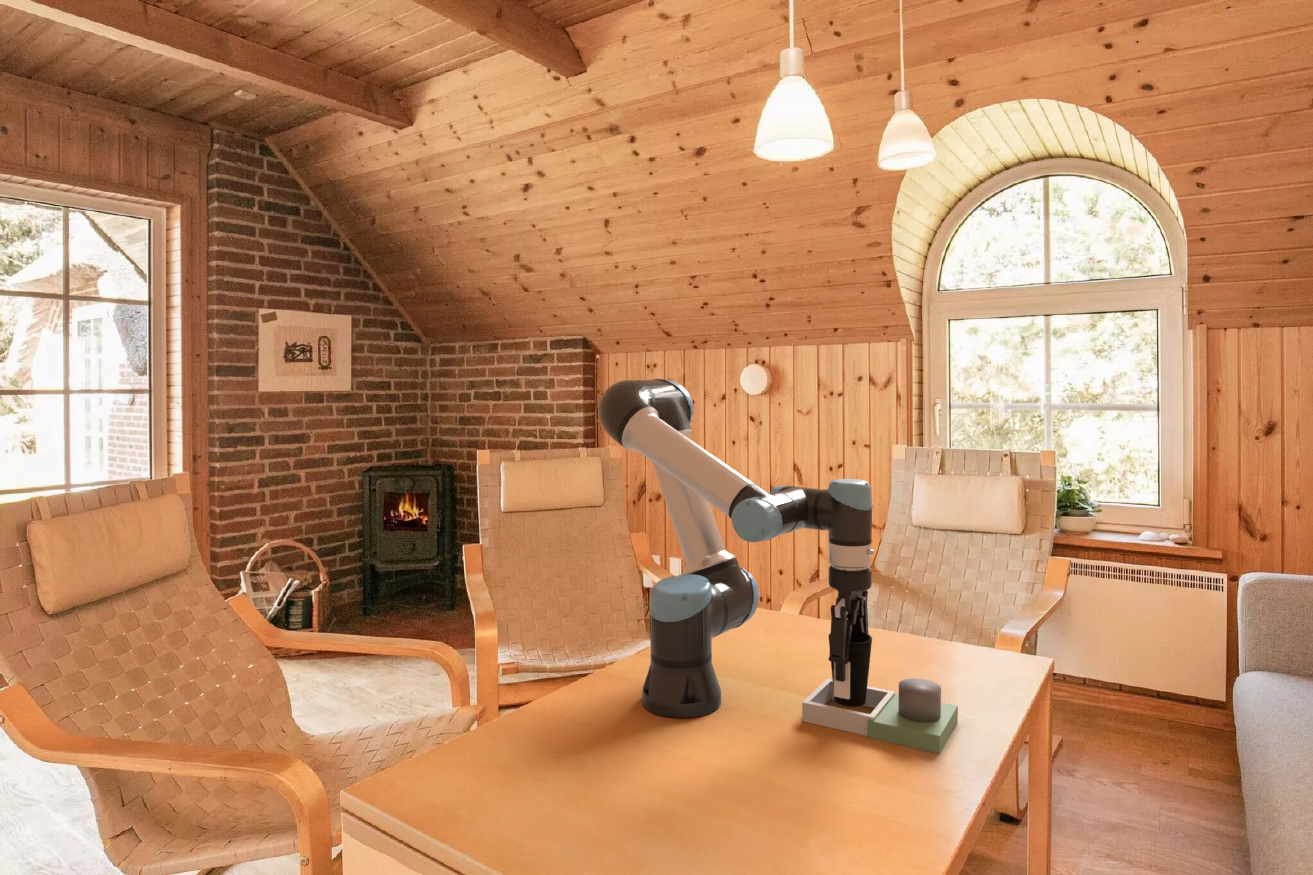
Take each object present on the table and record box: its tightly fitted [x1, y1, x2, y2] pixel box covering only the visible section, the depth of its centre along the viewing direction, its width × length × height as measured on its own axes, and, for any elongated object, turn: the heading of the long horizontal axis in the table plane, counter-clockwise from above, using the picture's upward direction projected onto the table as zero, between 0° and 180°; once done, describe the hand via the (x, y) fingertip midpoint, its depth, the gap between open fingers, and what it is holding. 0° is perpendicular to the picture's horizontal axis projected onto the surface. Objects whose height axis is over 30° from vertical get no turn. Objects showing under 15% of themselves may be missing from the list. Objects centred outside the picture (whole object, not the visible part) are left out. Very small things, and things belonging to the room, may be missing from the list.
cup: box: [828, 631, 873, 708], centre depth 147 cm, size 8×8×12 cm
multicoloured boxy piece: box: [801, 678, 959, 755], centre depth 144 cm, size 24×14×8 cm, turn 58°
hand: (849, 689), depth 147 cm, fingers closed on cup, 8 cm apart
